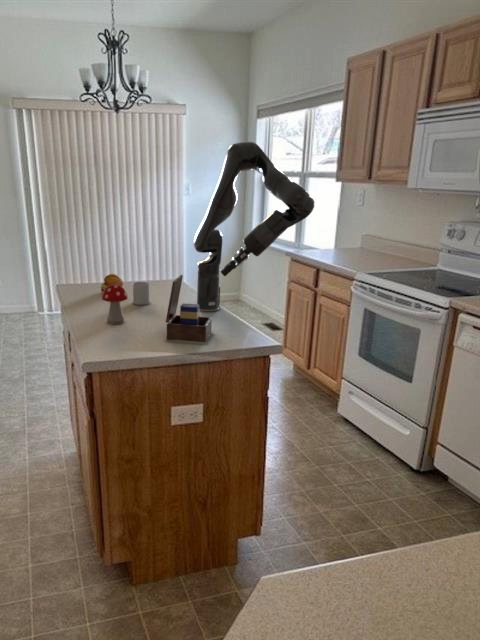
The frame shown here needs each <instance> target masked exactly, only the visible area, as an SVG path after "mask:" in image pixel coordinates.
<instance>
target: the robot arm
mask: <svg viewBox="0 0 480 640" xmlns="http://www.w3.org/2000/svg"><path fill="white" fill-rule="evenodd" d="M248 171H255V172H257V173H259V174H260V175H261V176H262V184H263V185H264V188H265V189H266V190H267V191H268V192H269V193H270V194H272V195H273V197H275V198H276V199H278V200H279V201H281V202H282V203H283V204H284V205H286V207H287V209H285V210H280V209H275V210H274V211H273V212H271V213H270V214H269V215H268V216H267V217H265V219H264V220H263V221H261V222H260V223H259V224H257V225H256V226H255V227H254V228H253V229H252V230H251V231H250V232H249V233H248V234H247V235H245V237H243V239H242V242H243V244H244V247H241V248H240V249H239V250H238V251H237V252H236V253H235V254H234V256H233V257H232V258H231V260H230V261H229V262H228V263H227V264H226V265H224V267H223V269H222V270H221V271H220V267H221V263H222V252H223V234H222V232H221V231H220V230H219V229H216V228H217V227H218V226H220V225H222V224H223V223H224V222H225V221H226V220H228V218H230V217H231V215H232V213H233V211H234V209H235V207H236V204H237V202H238V193H237V190H236V187H235V182H236V180H237V177H238V175H239V174H240V173H241V172H248ZM315 203H316V202H315V199H314V198H313V197H312V196H311V194H309V192H308V191H307V190H306V189H305V188H304V187H302V186H301V185H300V184H298V183H297V182H295V181H293V180H292V179H291V178H290V177H289V176H288V175H286V174H285V173H283V171H281V170H280V169H279V168H278V167H277V166H276V165H275V164H274V163H273V161H272V160H271V159H270V157H269V156H268V155H267V154H266V153H265V151H264V150H263V149H262V148H261V147H260V146H259V145H258V144H257V143H256V142H253V141H244V142H235V143H233V144H231V145H230V146H229V148H228V149H227V151H226V153H225V157H224V161H223V166H222V169H221V172H220V175H219V178H218V181H217V183H216V187H215V189H214V192H213V194H212V196H211V199H210V202H209V204H208V207H207V210H206V213H205V215H204V217H203V219H202V221H201V223H200V225H199V227H198V229H197V230H196V233H195V234H194V235H195V236H194V239H193V248H194V250H195V251H196V252H197V253H200V254H208V256H206V257H205V258H204V259H202V260H199V261H198V262H197V283H196V284H197V288H196V291H197V292H196V294H197V295H196V304H199V309H200V312H216V311H218V310H219V309H220V307H221V305H220V303H221V286H220V273H221V275H222V276H223V277H226V276H227V275H229V274H230V273H231V272H232V271H233V270H235V269H237V268H238V266H241V265H242V264H243V263H244V262H246V261H247V260H248V259H250V254H252V255H253V256H254V257H259V256H260V255H261V254H263V253H264V251H266V250H267V249H268V248H269V247H270V246H272V245H273V243H274V242H275V241H276V240H277V239H278V238H279V237H280V236H281V235H283V233H284V232H285V231H286V230H288V229H289V228H291V227H293V226H295V225H296V224H298V223H300V222H302V221H303V220H305V219H306V218H308V217H309V216H310V215H311V214H312V212H313V211H314V209H315Z"/></svg>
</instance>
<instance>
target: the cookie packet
mask: <svg viewBox="0 0 480 640" xmlns="http://www.w3.org/2000/svg"><path fill="white" fill-rule="evenodd" d="M200 312H201V311H200V309H199V304H197V303H185V302H184V303H182V304H181V305H180V307H179V315H180V324H184V325H198V326H199V317H200Z"/></svg>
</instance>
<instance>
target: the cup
mask: <svg viewBox="0 0 480 640" xmlns="http://www.w3.org/2000/svg"><path fill="white" fill-rule="evenodd" d="M132 301H133V304H134V305H136V306H146V305H149V304H150V283H149V282H147V281H135V282H133V283H132Z"/></svg>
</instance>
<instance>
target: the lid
mask: <svg viewBox="0 0 480 640" xmlns="http://www.w3.org/2000/svg"><path fill="white" fill-rule="evenodd" d="M183 278H184V274H180V275H179V276H177V277H176V278H175V279H174V280H173V281H172V284H171V289H170V295H169V301H168V306H167V311H166V312H167V313H166V317H165V323H166V324H167V323H168V322H169V321H170V320H171V319H172V318H173V316H174V315H177V310H178V304H179V298H180V295H181V294H180V293H181V288H182V283H183Z"/></svg>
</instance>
